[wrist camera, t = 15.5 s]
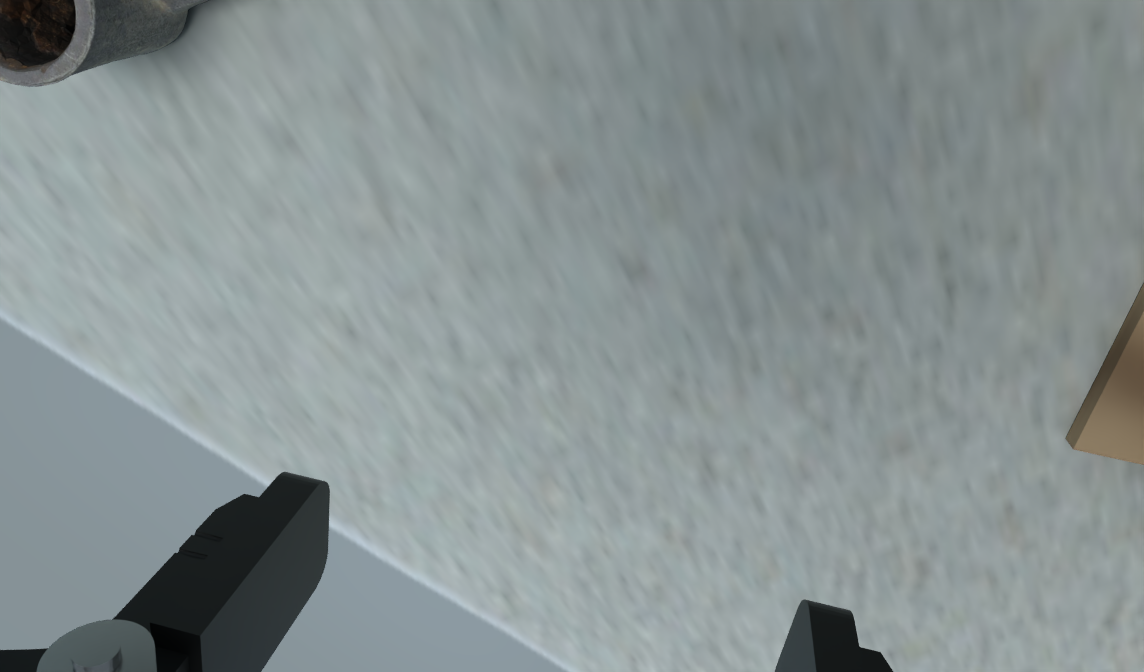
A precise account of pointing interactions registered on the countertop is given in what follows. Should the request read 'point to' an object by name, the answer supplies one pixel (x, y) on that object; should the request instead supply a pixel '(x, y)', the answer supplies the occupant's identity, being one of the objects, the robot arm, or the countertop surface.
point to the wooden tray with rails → (1116, 397)
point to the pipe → (81, 35)
